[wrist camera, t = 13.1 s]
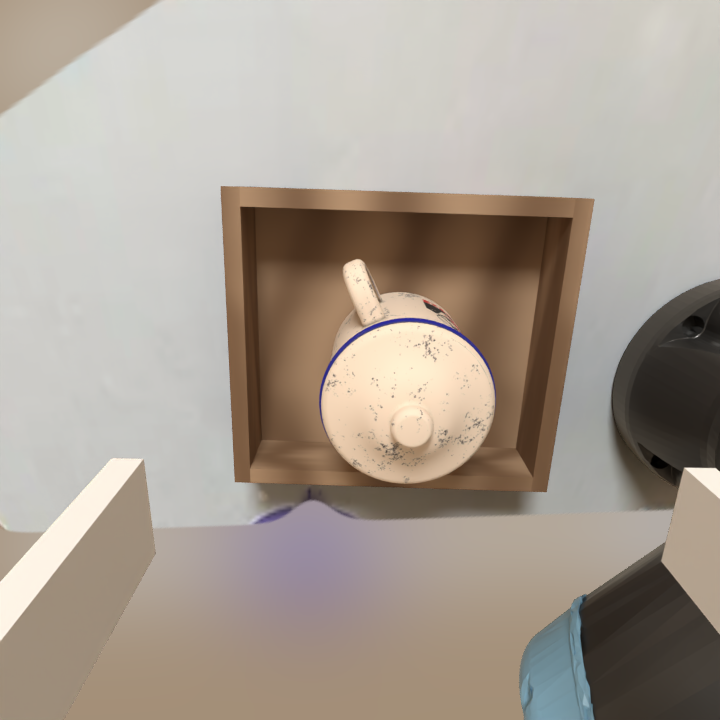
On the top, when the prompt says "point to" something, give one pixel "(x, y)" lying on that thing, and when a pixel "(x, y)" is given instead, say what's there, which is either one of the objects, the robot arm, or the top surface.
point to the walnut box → (392, 274)
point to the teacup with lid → (403, 386)
